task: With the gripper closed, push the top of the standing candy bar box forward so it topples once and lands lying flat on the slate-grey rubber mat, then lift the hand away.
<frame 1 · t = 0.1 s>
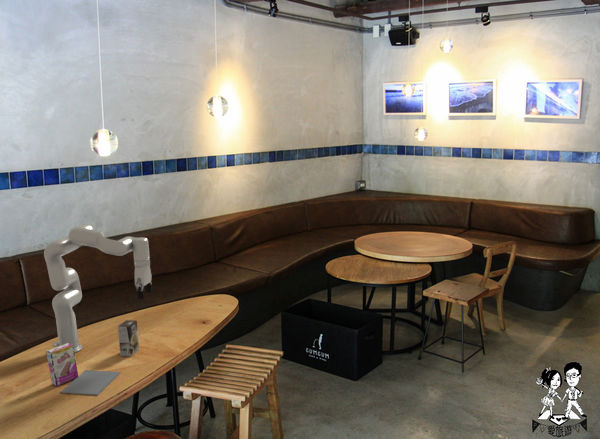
hand: (145, 295, 297), 31 cm above the table, tool pointing down, fingers open, 9 cm apart
coffee box: (130, 353, 305), on the table
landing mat: (91, 382, 273), on the table
candy bar box: (65, 381, 275), on the table, touching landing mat
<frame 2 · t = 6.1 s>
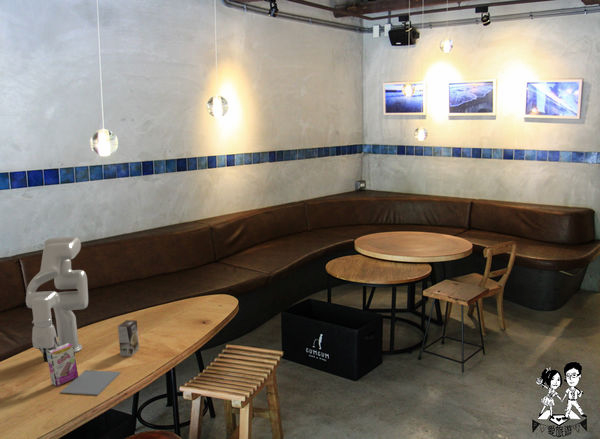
hand: (47, 360, 274), 10 cm above the table, tool pointing down, fingers closed
nothing on the table moved.
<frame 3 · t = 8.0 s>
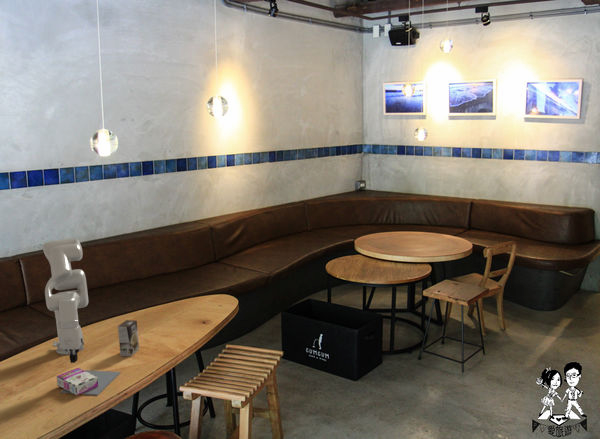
hand: (74, 361, 272), 10 cm above the table, tool pointing down, fingers closed
candy bar box: (67, 376, 274), point 3 cm above the table, touching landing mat
everything else where it was.
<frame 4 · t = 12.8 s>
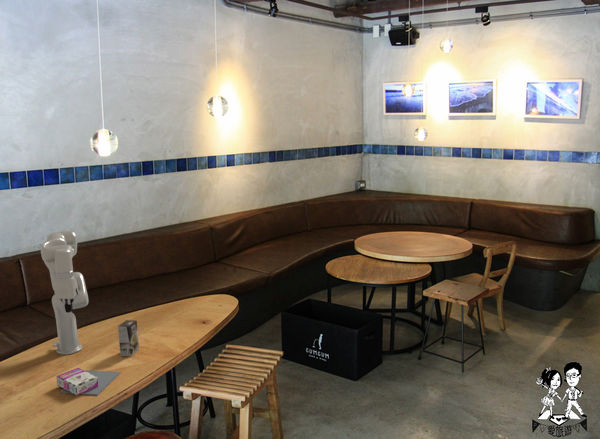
hand: (69, 311, 284), 29 cm above the table, tool pointing down, fingers closed
nothing on the table moved.
at the end: candy bar box tilted 90°; candy bar box touching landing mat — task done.
